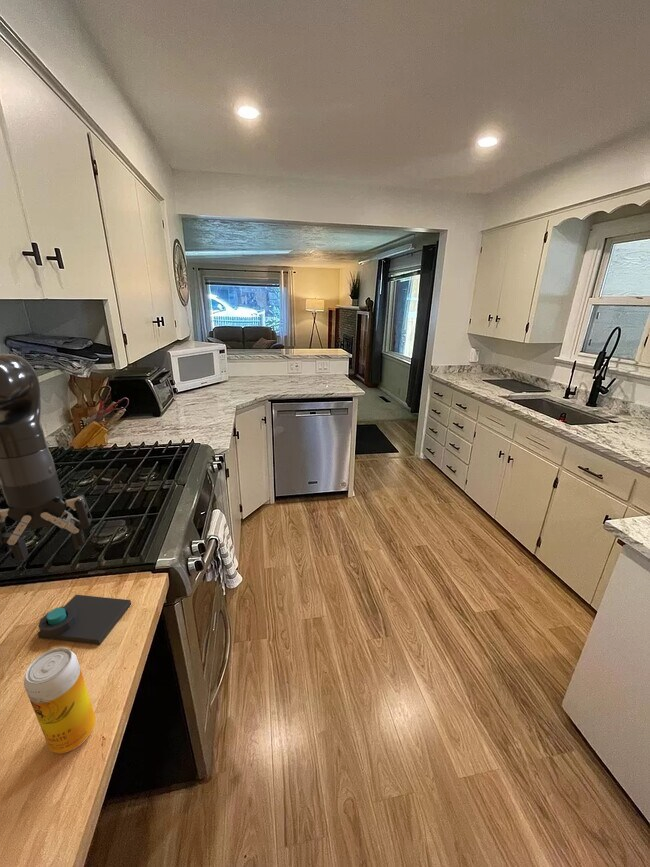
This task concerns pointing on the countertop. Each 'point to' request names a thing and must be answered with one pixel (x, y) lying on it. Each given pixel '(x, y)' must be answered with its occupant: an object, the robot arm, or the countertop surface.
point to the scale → (86, 620)
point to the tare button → (56, 616)
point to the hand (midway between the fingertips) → (52, 552)
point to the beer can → (60, 699)
